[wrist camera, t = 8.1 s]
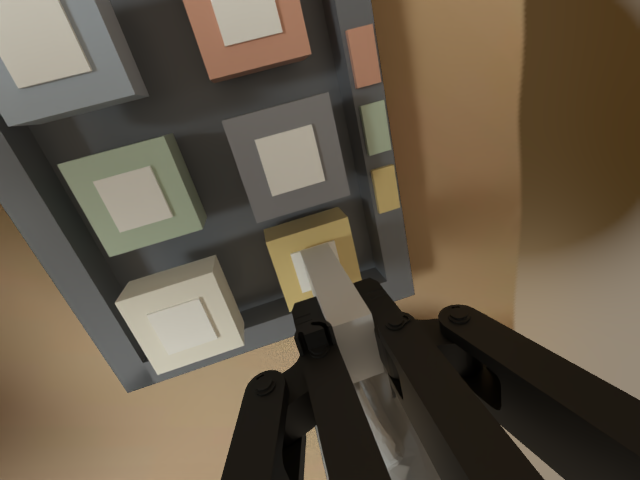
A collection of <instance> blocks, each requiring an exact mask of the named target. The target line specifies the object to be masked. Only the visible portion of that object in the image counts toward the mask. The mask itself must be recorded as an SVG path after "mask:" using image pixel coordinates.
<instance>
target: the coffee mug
mask: <svg viewBox="0 0 640 480" xmlns="http://www.w3.org/2000/svg"><path fill="white" fill-rule="evenodd" d="M383 368H384V372H383V373H381V374H378V375H375V376H372V377H370V378H367V379H364V380H361V381H359V382H356V383H353V385H354V387H355V390H356V392H357V395H358V397H359V400H360V402H361V405H362V407H363V410H364V412H365V415H366V417H367V420H368V422H369V425H370V427H371V430H372V432H373V435H374V437H375V440H376V442H377V445H378V447H379V450H380V452H381V455H382V457H383V460H384V462H385V465H386V467H387V470H388V472H389V475H390V477H391V480H441V479H440V477H439V475H438V473H437V471H436V469H435V468H434V466H433V464H432V462H431V460H430V458H429V456H428V454H427V452H426V451H425V449H424V447H423V445H422V443H421V441H420V439H419V437H418V435H417V433H416V432H415V430H414V428H413V426H412V424H411V422H410V420H409V418H408V416H407V415H406V413H405V411H404V409H403V407H402V405H401V403H400V401H399V399H398V397H397V396H396V397H395V398H393V395H392V391H391V387H390V382H389V377H388V373H387V370H386V368H385V367H384V365H383ZM315 429H316V433H317V438H318V442H319V447H320V451H321V455H322V460H323V464H324V469H325V473H326V478H327V480H329V477H328V473H327V468H326V464H325V460H324V455H323V451H322V447H321V442H320V438H319V434H318V429H317V425H316V426H315Z"/></svg>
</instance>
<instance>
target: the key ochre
mask: <svg viewBox="0 0 640 480" xmlns="http://www.w3.org/2000/svg"><path fill="white" fill-rule="evenodd" d="M264 235H265V241H266V245H267V248H268V251H269V254H270V256H271V259H272V262H273V265H274V268H275V271H276V274H277V277H278V280H279V283H280V286H281V289H282V291H283V294H284V297H285V300H286V303H287V306H288V309H289V312H291V311H292V309H293V306H294V303H297V302H300V301H303V300H306V299H309V298H312V297H314V296H313V293H312V290H311V287H310V283H309V280H308V277H307V273H306V270H305V267H304V263H303V260H302V257H301V253H300V251H303V250H306V249H309V248H312V247H315V246H318V245H322V244H325V243H328V244H329V246H330V248H331V249H332V251H333V252H334V254H335V256H336V257H337V259H338V260H339V262H340V264H341V265H342V267H343V268H344V270H345V272H346V273H347V275H348V276H349V278H350V280H351V281H352V283H355V282H358V281H361V280H362V278H361V274H360V269H359V265H358V260H357V256H356V251H355V247H354V242H353V238H352V233H351V229H350V224H349V220H348V217H347V216H346V215H345V214H344V213H343V211H342V210H341V209H340V208H339V207H335V208H332V209H329V210H325V211H322V212H319V213H316V214H312V215H309V216H306V217H303V218H299V219H296V220H293V221H290V222H286V223H283V224H280V225H276V226H273V227H270V228H267V229H264Z"/></svg>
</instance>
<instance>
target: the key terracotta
mask: <svg viewBox="0 0 640 480" xmlns="http://www.w3.org/2000/svg"><path fill="white" fill-rule="evenodd" d="M183 3H184V6H185V9H186V12H187V14H188V17H189V20H190V23H191V26H192V29H193V32H194V35H195V38H196V41H197V44H198V47H199V49H200V52H201V55H202V58H203V61H204V64H205V67H206V70H207V73H208V76H209V79H210V80H211V81H212V82H213V83H217V82H221V81H225V80H229V79H233V78H237V77H241V76H244V75H248V74H252V73H256V72H260V71H264V70H268V69H272V68H276V67H279V66H283V65H287V64H291V63H295V62H299V61H303V60H305V59H306V58H307V57H308V56H310V55H311V49H310V45H309V40H308V36H307V31H306V27H305V22H304V18H303V13H302V9H301V4H300V0H183Z"/></svg>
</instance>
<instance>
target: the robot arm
mask: <svg viewBox="0 0 640 480" xmlns="http://www.w3.org/2000/svg"><path fill="white" fill-rule="evenodd" d="M300 253H301V257H302V260H303V263H304V267H305V270H306V273H307V277H308V280H309V283H310V287H311V290H312V293H313V296H314V297H312V298H309V299H306V300H303V301H300V302H297V303H294V306H293V309H292V315H293V319H294V324H295V328H296V332H295V336H294V339H295V342H296V345H297V348H298V351H299V353H300V356H299V359H298V360H297V362H296V363H295V364H294V365H293V366H292V367H291V368H290V369H288V370H287V371H285V372H284V373H281V372H278V371H276V370H268V371H265V372H262V373H260V374H258V375H257V376H255V377H254V378H253V379H252V380H251V381H250V382H249V383H248V385H247V387H246V389H245V393H244V397H243V400H242V404H241V408H240V411H239V415H238V419H237V422H236V426H235V430H234V433H233V437H232V441H231V444H230V448H229V452H228V455H227V459H226V463H225V466H224V470H223V474H222V477H221V480H304V464H305V448H306V433H307V432H308V431H310V430H311V429H312V428H313V427H315V426H316V425H317V429H318V434H319V438H320V442H321V447H322V451H323V455H324V460H325V464H326V468H327V473H328V477H329V480H391V477H390V475H389V472H388V470H387V467H386V465H385V462H384V460H383V457H382V455H381V452H380V450H379V447H378V445H377V442H376V440H375V437H374V435H373V432H372V430H371V427H370V425H369V422H368V420H367V417H366V415H365V412H364V410H363V407H362V405H361V402H360V400H359V397H358V395H357V392H356V390H355V387H354V385H353V383H356V382H359V381H361V380H364V379H367V378H370V377H372V376H375V375H378V374H381V373H383V372H384V368H383V365H384V367H385V368H386V370H387V373H388V377H389V382H390V387H391V391H392V395H393V398H395V397H396V396H397V397H398V399H399V401H400V403H401V405H402V407H403V409H404V411H405V413H406V415H407V416H408V418H409V420H410V422H411V424H412V426H413V428H414V430H415V432H416V433H417V435H418V437H419V439H420V441H421V443H422V445H423V447H424V449H425V451H426V452H427V454H428V456H429V458H430V460H431V462H432V464H433V466H434V468H435V469H436V471H437V473H438V475H439V477H440V479H441V480H544V479H543V478H542V476H541V475H540V474H539V473H538V471H537V470H536V469H535V468H534V466H533V465H532V464H531V463H530V461H529V460H528V459H527V458H526V456H525V455H524V454H523V453H522V451H521V450H520V449H519V448H518V447H517V445H516V444H515V443H514V442H513V440H512V439H511V438H510V437H509V435H508V434H507V433H506V432H505V430H504V429H503V428H502V427H504V428H505V429H506V430H507V431H508V432H510V433H511V434H512V435H513V436H514V437H515V438H517V439H518V440H519V441H520V442H522V444H524V445H525V446H526V447H527V448H528V449H530V450H531V451H532V452H533V453H534V454H535V455H537V456H538V457H539V458H540V459H541V460H543V461H544V462H545V463H546V464H547V465H548V466H550V467H551V468H552V469H553V470H554V471H555V472H557V473H558V474H559V475H560V476H561V477H563V478H564V479H565V480H640V400H638V399H637V398H635V397H633V396H631V395H629V394H628V393H626V392H624V391H622V390H620V389H619V388H617V387H615V386H613V385H611V384H609V383H608V382H606V381H604V380H602V379H600V378H598V377H597V376H595V375H593V374H591V373H590V372H588V371H586V370H584V369H582V368H580V367H579V366H577V365H575V364H573V363H571V362H569V361H568V360H566V359H564V358H562V357H561V356H559V355H557V354H555V353H553V352H551V351H550V350H548V349H546V348H544V347H543V346H541V345H539V344H537V343H535V342H533V341H532V340H530V339H528V338H526V337H524V336H523V335H521V334H519V333H517V332H515V331H514V330H512V329H510V328H508V327H506V326H505V325H503V324H501V323H499V322H497V321H496V320H494V319H492V318H490V317H488V316H487V315H485V314H483V313H481V312H479V311H477V310H476V309H474V308H472V307H469V306H466V305H450V306H448V307H445V308H443V309H442V310H441V311H440V313H439V315H438V319H431V320H416V319H414V318H413V317H412V316H411V315H410V314H408V313H405V312H401V310H400V309H399V308H398V306H397V305H396V304H395V303H394V301H393V300H392V299H391V297H390V296H389V295H388V294H387V292H386V291H385V290H384V289H383V287H382V286H381V285H380V283H379V282H378V281H376V280H374V279H372V278H367V279H364V280H361V281H358V282H355V283H352V281H351V280H350V278H349V276H348V275H347V273H346V272H345V270H344V268H343V267H342V265H341V264H340V262H339V260H338V259H337V257H336V256H335V254H334V252H333V251H332V249H331V248H330V246H329V244H328V243H325V244H322V245H318V246H315V247H312V248H309V249H306V250H303V251H300ZM501 426H502V427H501Z"/></svg>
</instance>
